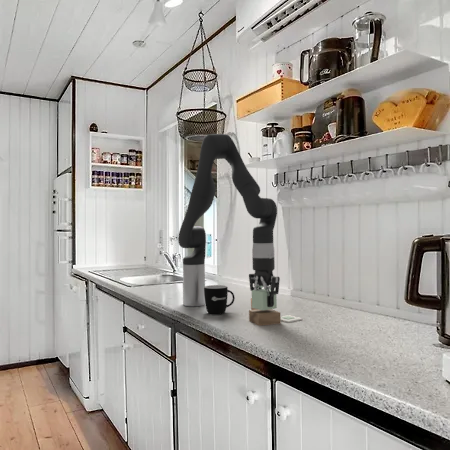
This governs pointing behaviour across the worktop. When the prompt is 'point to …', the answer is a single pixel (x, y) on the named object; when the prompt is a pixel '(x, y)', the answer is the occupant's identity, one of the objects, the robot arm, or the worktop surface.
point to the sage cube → (261, 300)
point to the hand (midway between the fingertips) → (264, 305)
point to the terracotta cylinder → (251, 306)
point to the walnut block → (264, 317)
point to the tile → (290, 318)
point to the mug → (217, 299)
